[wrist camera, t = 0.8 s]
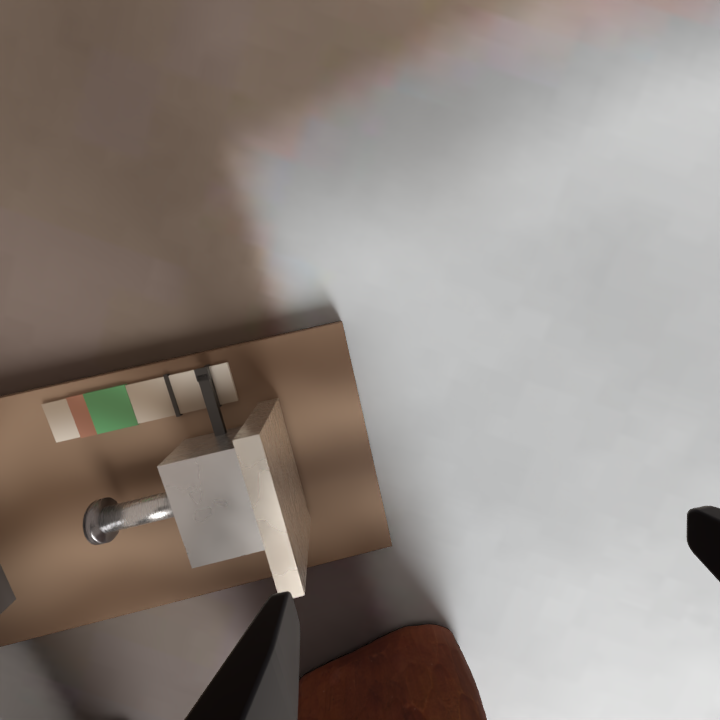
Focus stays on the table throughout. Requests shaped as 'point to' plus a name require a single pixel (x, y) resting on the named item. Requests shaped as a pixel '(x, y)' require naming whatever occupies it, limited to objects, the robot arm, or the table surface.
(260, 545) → the gauge carriage
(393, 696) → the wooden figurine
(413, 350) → the table surface
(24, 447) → the gauge base
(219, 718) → the robot arm
